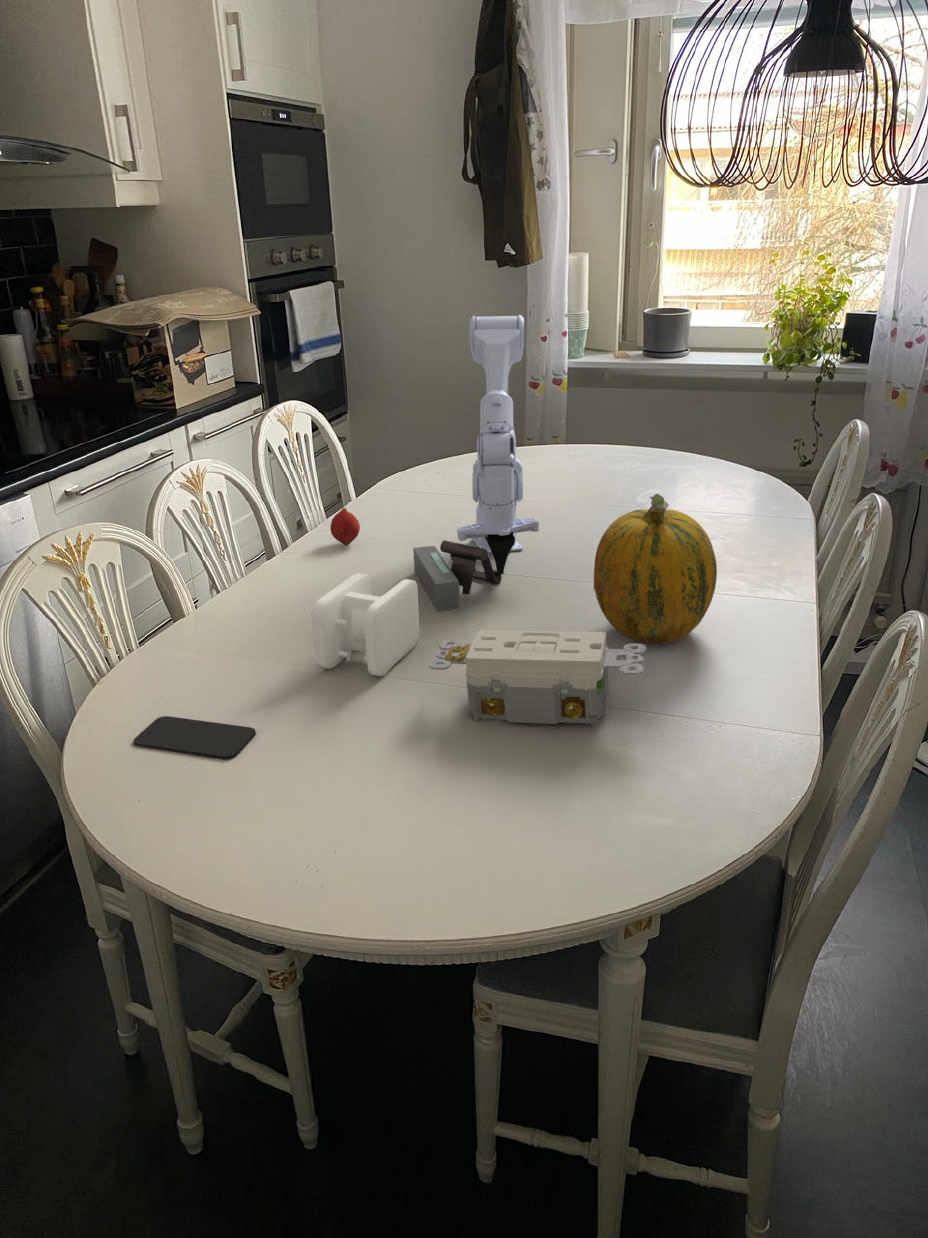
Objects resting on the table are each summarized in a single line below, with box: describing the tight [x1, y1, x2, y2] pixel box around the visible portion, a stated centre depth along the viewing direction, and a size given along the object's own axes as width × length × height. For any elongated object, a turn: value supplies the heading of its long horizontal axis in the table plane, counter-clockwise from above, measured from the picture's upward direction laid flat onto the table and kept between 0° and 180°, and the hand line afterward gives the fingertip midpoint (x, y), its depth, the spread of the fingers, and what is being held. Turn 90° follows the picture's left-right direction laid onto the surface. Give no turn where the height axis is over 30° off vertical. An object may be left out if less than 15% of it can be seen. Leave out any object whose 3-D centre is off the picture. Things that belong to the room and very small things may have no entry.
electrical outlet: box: [428, 629, 647, 725], centre depth 129 cm, size 12×28×10 cm, turn 77°
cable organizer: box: [310, 573, 420, 677], centre depth 142 cm, size 15×11×12 cm
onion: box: [329, 507, 361, 546], centre depth 189 cm, size 6×6×8 cm
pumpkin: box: [593, 493, 718, 644], centre depth 146 cm, size 19×19×25 cm
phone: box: [132, 715, 257, 761], centre depth 125 cm, size 7×1×15 cm
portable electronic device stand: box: [439, 539, 502, 596], centre depth 169 cm, size 9×8×8 cm
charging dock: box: [412, 545, 460, 612], centre depth 168 cm, size 18×4×5 cm, turn 15°
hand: (499, 572), depth 171 cm, fingers closed, pressing on portable electronic device stand
